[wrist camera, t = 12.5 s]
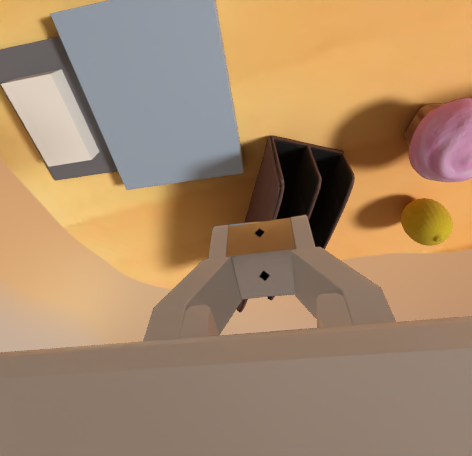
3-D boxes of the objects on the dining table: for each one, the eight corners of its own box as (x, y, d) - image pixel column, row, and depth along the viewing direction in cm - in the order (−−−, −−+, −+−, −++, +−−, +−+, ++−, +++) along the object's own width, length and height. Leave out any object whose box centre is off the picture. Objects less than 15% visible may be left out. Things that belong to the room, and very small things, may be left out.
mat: (-15, 52, 36) (-18, 53, 35) (66, 35, 34) (64, 35, 34) (56, 178, 45) (55, 180, 45) (123, 168, 44) (122, 170, 43)
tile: (14, 78, 37) (0, 83, 35) (61, 69, 36) (50, 73, 34) (57, 158, 43) (48, 166, 41) (99, 151, 42) (91, 159, 40)
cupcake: (379, 152, 41) (410, 191, 33) (407, 80, 36) (452, 105, 28) (446, 159, 41) (494, 199, 33) (484, 88, 36) (551, 116, 28)
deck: (62, 12, 33) (49, 13, 31) (211, -22, 31) (209, -23, 29) (131, 181, 45) (126, 189, 43) (243, 164, 43) (243, 173, 41)
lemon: (406, 226, 48) (430, 263, 42) (385, 205, 46) (407, 240, 39) (441, 204, 45) (473, 239, 39) (420, 180, 43) (450, 213, 37)
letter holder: (236, 249, 52) (232, 320, 41) (268, 133, 40) (276, 188, 29) (294, 259, 53) (307, 332, 42) (343, 149, 41) (378, 209, 30)
